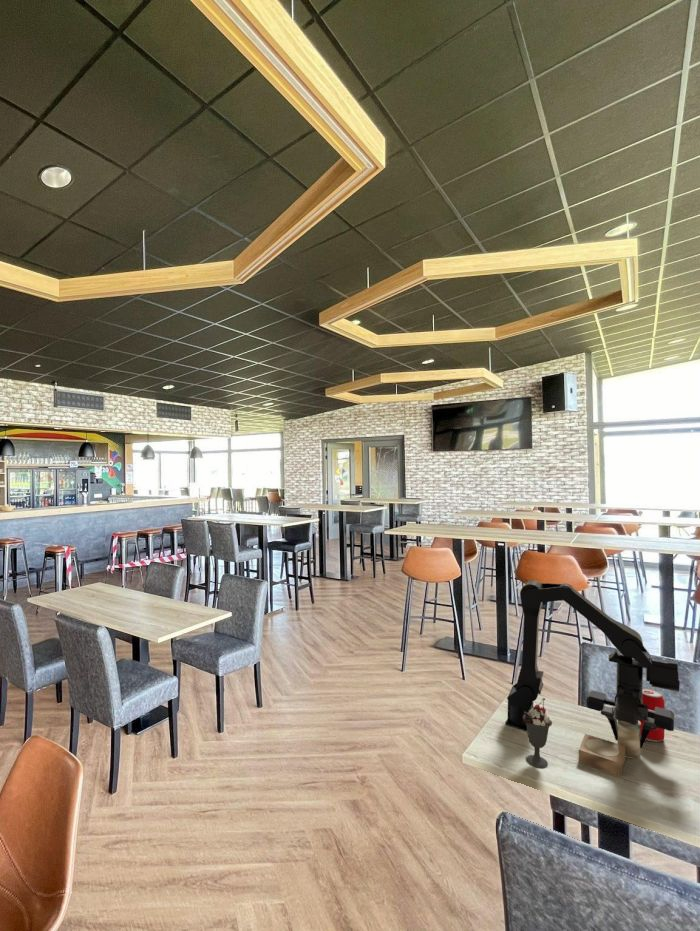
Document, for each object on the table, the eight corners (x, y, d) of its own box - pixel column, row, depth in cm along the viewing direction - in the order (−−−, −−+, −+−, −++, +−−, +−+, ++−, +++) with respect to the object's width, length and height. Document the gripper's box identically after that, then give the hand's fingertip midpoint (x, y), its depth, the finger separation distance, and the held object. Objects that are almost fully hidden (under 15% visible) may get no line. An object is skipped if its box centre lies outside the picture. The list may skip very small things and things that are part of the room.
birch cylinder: (616, 753, 118) (616, 721, 118) (618, 744, 122) (618, 713, 122) (639, 760, 115) (639, 728, 115) (641, 751, 119) (641, 719, 119)
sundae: (554, 759, 114) (555, 697, 115) (548, 774, 109) (549, 708, 109) (526, 750, 118) (527, 690, 118) (519, 763, 112) (520, 700, 113)
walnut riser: (578, 762, 114) (578, 749, 114) (584, 745, 121) (585, 733, 121) (621, 776, 108) (621, 763, 108) (625, 758, 116) (625, 745, 116)
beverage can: (668, 745, 122) (669, 698, 122) (642, 741, 123) (642, 695, 123) (658, 732, 128) (658, 688, 128) (633, 729, 129) (633, 685, 130)
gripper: (583, 682, 117) (582, 744, 117) (673, 704, 107) (673, 773, 106) (590, 667, 127) (589, 726, 126) (674, 687, 116) (673, 751, 115)
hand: (628, 743), depth 118 cm, fingers closed on birch cylinder, 5 cm apart
